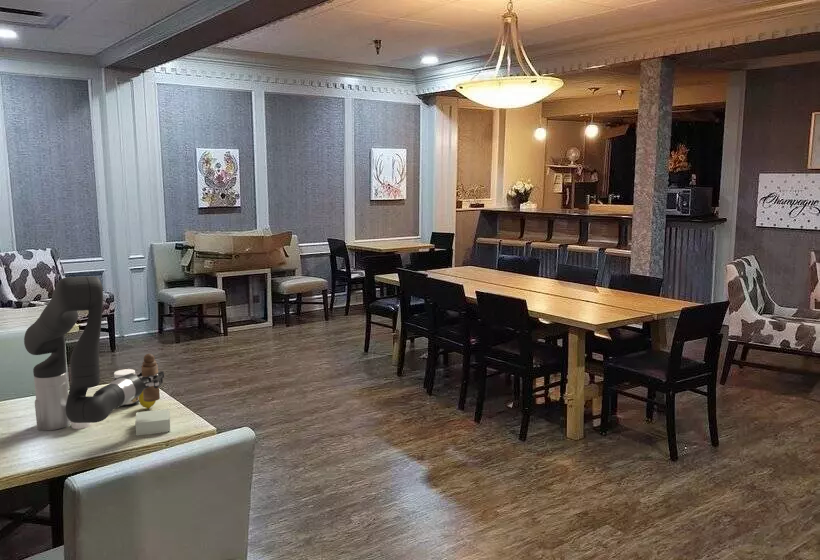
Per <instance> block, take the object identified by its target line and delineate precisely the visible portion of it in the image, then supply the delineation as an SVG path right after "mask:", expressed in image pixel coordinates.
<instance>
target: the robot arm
mask: <svg viewBox="0 0 820 560" xmlns="http://www.w3.org/2000/svg"><path fill="white" fill-rule="evenodd" d="M103 289H104V288H103V285H102V282H101V280H100V278H99V277H97V276H67V277H63V278H62V279H61V278H60V280H59V281H58V282H57V284H56V285H55V288H54V291H53V294H52V296H51V299H50V300H49V302H48V304H47V305H46V306H45V307H44V309H43V310H42V311H41V314H40V316H39V317H38V318H37V320H36V321H35V322H33V323H32V324H30V326H29V327H27V329H26V331H25V333H24V337H23V342H24V347H25V350H26V351H27V352H28V353H29V354H30V355H32V356H41V355H47V354H50V356H48V357H47V358H45V360H43V361H41V362H39V363H37V364H36V365H34V367H33V368H32V369H33V370H32V372H33V382H34V383H33V384H34V391H35V392H34V393H35V400H34V408H35V419H36V431H52V430H53V431H54V430H59V429H63V428H65V427H68V426H69V425H71V422H74V423H91V424H92V423H96V424H97V423H99V422H102V421H104V420H106V419H107V418H108V417H109V415H111V413H112V412H113V411H114V410H115V409H118V408H120V407H119V406H121V405H124V404H126V403H128V402H130V401H131V400H133V399H135V398H137V397H138V396H140V395H141V393H142V391H143V390H144V389H146V388H148V387H150V386H154V388H158V387H159V388H160V387H161V385H162V384H163V383H164V381H163V380H164V378H165V372H164V371H163V370H161V371H158V373H156V374H154V375H146V376H142V371H141V372H135V374H133V373H130V374H127V375H124V376H122V377H118V378H117V380H115V381H113V382H111V381H110V383H108V384H107V385H105V386H103V387H101V388H98V389H97V390H96V391H95V392H94V393H93V395H92V396H91V395H90V396H87V391H88V390H89V389H92V388H94V387H97V386H98V385H100V383H101V373H100V340H101V331H102V329H101V328H102V320H103V308H104V307H103V306H104V290H103ZM81 311H83V312H84V311H88V314H87V315H88V316H87V322H86V325H85V327H84V330H83V331H82V333H81V335H80V336H79V339H78V340H77V342H76V344H75V346H74V347H73V350H72V351H71V356H70V376H71V377H70V382H71V383H70V386H68V374H67V356H66V335H67V334H68V333H69V332H70V331H71V330H72V329H73V328H74V326H75V325H76V324H77V321H78V317H79V313H78V312H81ZM153 378H154V379H153Z"/></svg>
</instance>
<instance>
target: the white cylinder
mask: <svg viewBox="0 0 820 560" xmlns="http://www.w3.org/2000/svg"><path fill="white" fill-rule="evenodd" d="M91 424H92V423H74V422H71V423H70V426H71V428H72V429H74V430H80V429H81V428H82V429H85V428H88V427H90V426H91Z"/></svg>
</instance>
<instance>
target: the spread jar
mask: <svg viewBox="0 0 820 560" xmlns="http://www.w3.org/2000/svg"><path fill="white" fill-rule="evenodd" d="M130 373H133V374H136V370H135V369H130V368H127V369H125V368H124V369H119V370H116V371H114V373H113V375H114V376H113V379H112V380H111V381H110V383H111V382H113V381H115V380H117V378H118V377H122V376H124V375H127V374H130ZM138 403H140V402H139V396H138V397H137V398H135V399H133V400H131V401H130V402H128V403H126V404H124V405H121V406H119V407H118V408H128V407H129V408H130V407H132V406H135V405H137V404H138Z"/></svg>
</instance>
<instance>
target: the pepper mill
mask: <svg viewBox="0 0 820 560" xmlns="http://www.w3.org/2000/svg"><path fill="white" fill-rule="evenodd" d="M155 359H156V358H155V355H154V354H152V353H146V354H145V355H144V356H143V361H142V365H141V367H140V368H141V372H142V376H146V375H154V374H156V373H158V372H159V365H158V363H157V360H155ZM153 379H154V378H153ZM160 394H161V393H160V386H159V387H158V388H154V386H150V387H148V388H146V389H144V390H143V398H144V401H146V402H152V401H158V400H160V399H161V396H160Z"/></svg>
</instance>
